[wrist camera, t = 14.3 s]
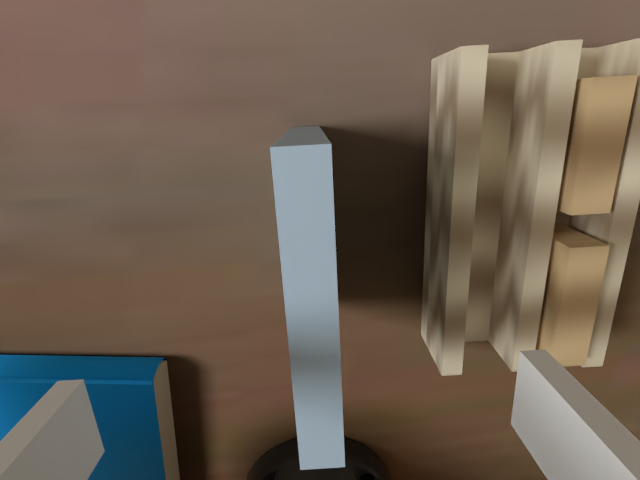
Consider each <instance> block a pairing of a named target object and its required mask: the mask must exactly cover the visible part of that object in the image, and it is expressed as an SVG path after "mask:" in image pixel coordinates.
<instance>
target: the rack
mask: <svg viewBox="0 0 640 480" xmlns="http://www.w3.org/2000/svg"><path fill="white" fill-rule="evenodd" d="M582 42H583V40H565V41H554V42H551V43H547V44H544V45H540V46H537V47H533V48H530V49H527V50H523V51H520V52H506V53H488V46H489V45H475V46H461V47H459V48H456V49H454V50H452V51H450V52H447V53H445V54H443V55H440V56H438V57H436V58H433V59H432V61H431V87H430V113H429V139H428V166H427V192H426V218H425V244H424V271H423V297H422V323H421V335H422V337H423V339H424V341H425V343H426V345H427V347H428V349H429V351H430V353H431V355H432V357H433V359H434V361H435V363H436V365H437V367H438V369H439V371H440V374H441V376H445V375H462V365H463V353H464V342H473V341H489V342H490V344H491V345H492V346H493V348H494V349H495V350H496V351H497V353H498V354H499V355H500V357H501V358H502V359H503V360H504V362H505V363H506V364H507V366H508V367H509V368H510V369H511V371H518V363H519V355H520V351H527V350H535V349H536V342H537V336H538V329H539V323H540V316H541V310H542V303H543V297H544V290H545V284H546V277H547V271H548V264H549V258H550V251H551V245H552V238H553V231H554V225H555V224H563V225H565V226H567V227H569V228H572V229H574V230H576V231H578V232H580V233H583V234H585V235H587V236H589V237H592V238H594V239H596V240H598V241H601V242H603V243H605V244H607V245H609V246H610V248H609V253H608V258H607V263H606V268H605V272H604V277H603V282H602V287H601V292H600V297H599V301H598V306H597V311H596V316H595V321H594V326H593V331H592V335H591V340H590V345H589V350H588V355H587V360H586V364H585V365H581V366H582V367H595V366H603V362H604V357H605V353H606V348H607V344H608V340H609V335H610V331H611V326H612V322H613V317H614V313H615V308H616V304H617V299H618V295H619V291H620V286H621V282H622V277H623V273H624V268H625V264H626V259H627V255H628V250H629V246H630V242H631V237H632V233H633V228H634V224H635V219H636V215H637V210H638V206H639V201H640V38H638V39H633V40H629V41H624V42H620V43H616V44H611V45H607V46H602V47H596V48H582ZM624 75H638V77H637V82H636V87H635V92H634V97H633V102H632V107H631V112H630V117H629V122H628V127H627V132H626V137H625V142H624V147H623V152H622V157H621V162H620V167H619V172H618V177H617V182H616V187H615V192H614V197H613V202H612V207H611V212H610V213H604V214H586V215H568V214H566V213H563V212H561V211H558V210H557V205H558V199H559V192H560V186H561V179H562V173H563V166H564V160H565V153H566V147H567V140H568V134H569V127H570V121H571V114H572V108H573V101H574V94H575V88H576V81H577V79H583V78H591V77H606V76H624Z"/></svg>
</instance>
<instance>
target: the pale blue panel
mask: <svg viewBox="0 0 640 480" xmlns="http://www.w3.org/2000/svg"><path fill="white" fill-rule="evenodd" d="M270 153H271V163H272V174H273V185H274V195H275V206H276V217H277V227H278V238H279V249H280V259H281V270H282V281H283V291H284V302H285V313H286V323H287V334H288V345H289V355H290V366H291V377H292V387H293V398H294V408H295V419H296V430H297V440H298V451H299V462H300V470H308V469H323V468H339V467H345V451H344V427H343V404H342V380H341V357H340V333H339V310H338V286H337V262H336V239H335V215H334V192H333V168H332V145H331V142H330V141H329V139H328V138H327V137H326V135H325V134H324V132H323V131H322V129H321V128H320V126H311V127H293V128H291V129H290V130H288V131H287V132H286V133H285V134H284V135H283V136H282V137H281V138H280V139H278V140H277V141H276V142H275V143H274V144H273V145H272V146H271V147H270Z"/></svg>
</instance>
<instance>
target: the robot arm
mask: <svg viewBox="0 0 640 480" xmlns="http://www.w3.org/2000/svg"><path fill="white" fill-rule="evenodd" d="M511 425H512V427H513V428H514V430H515V431H516V433H517V434H518V436H519V437H520V439H521V440H522V442H523V443H524V445H525V446H526V448H527V449H528V451H529V452H530V454H531V455H532V457H533V458H534V460H535V461H536V463H537V464H538V466H539V467H540V469H541V470H542V472H543V473H544V475H545V476H546V478H547V479H548V480H640V441H639V440H638V439H637V438H636V437H635V436H634V435H632V434H631V433H630V432H629V431H628V430H627V429H626V428H625V427H624V426H623V425H622V424H621V423H620V422H619V421H618V420H617V419H616V418H615V417H614V416H613V415H612V414H611V413H610V412H609V411H608V410H607V409H606V408H605V407H604V406H603V405H602V404H601V403H600V402H599V401H598V400H597V399H596V398H595V397H594V396H592V395H591V394H590V393H589V392H588V391H587V390H586V389H585V388H584V387H583V386H582V385H581V384H580V383H579V382H578V381H577V380H576V379H575V378H574V377H573V376H572V375H571V374H570V373H569V372H568V371H567V370H566V369H565V368H564V367H563V366H562V365H561V364H560V363H559V362H558V361H557V360H556V359H555V358H553V357H552V356H551V355H550V354H549V353H548V352H547V351H546V350H545V349H543V350H527V351H520V355H519V363H518V371H517V379H516V386H515V394H514V402H513V410H512V418H511ZM344 451H345V467H339V468H323V469H308V470H300V462H299V451H298V440H297V438H296V439H292V440H289V441H286V442H284V443H281V444H279V445H277V446H275V447H274V448H272V449H270V450H269V451H267V452H266V453H265V454H264V455H262V456H261V457H260V458H259V459H258V460H257V461H256V463H255V464H254V465H253V467H252V468H251V470H250V472H249V474H248V476H247V479H246V480H391V477H390V474H389V471H388V469H387V467H386V466H385V464H384V463H383V461H382V460H381V459H380V458H379V457H378V456H377V455H376V454H375V453H374V452H372V451H371V450H370V449H368V448H367V447H365V446H363V445H361V444H359V443H357V442H354V441H352V440H349V439H345V438H344ZM104 452H105V450H104V447H103V444H102V440H101V437H100V434H99V430H98V427H97V423H96V420H95V417H94V413H93V410H92V406H91V403H90V400H89V396H88V393H87V390H86V386H85V383H84V379H81V380H65V381H57V382H56V383H55V384H54V385H53V386H52V387H51V388H50V390H49V391H48V392H47V393H46V394H45V395H44V396H43V397H42V398H41V399H40V400H39V401H38V402H37V403H36V404H35V405H34V406H33V407H32V408H31V409H30V411H29V412H28V413H27V414H26V415H25V416H24V417H23V418H22V419H21V420H20V421H19V422H18V423H17V424H16V425H15V426H14V427H13V428H12V429H11V430H10V432H9V433H8V434H7V435H6V436H5V437H4V438H3V439H2V440H1V441H0V480H87V479H88V478H89V476H90V475H91V473H92V471H93V470H94V468H95V466H96V465H97V463H98V461H99V460H100V458H101V456H102V455H103V453H104Z"/></svg>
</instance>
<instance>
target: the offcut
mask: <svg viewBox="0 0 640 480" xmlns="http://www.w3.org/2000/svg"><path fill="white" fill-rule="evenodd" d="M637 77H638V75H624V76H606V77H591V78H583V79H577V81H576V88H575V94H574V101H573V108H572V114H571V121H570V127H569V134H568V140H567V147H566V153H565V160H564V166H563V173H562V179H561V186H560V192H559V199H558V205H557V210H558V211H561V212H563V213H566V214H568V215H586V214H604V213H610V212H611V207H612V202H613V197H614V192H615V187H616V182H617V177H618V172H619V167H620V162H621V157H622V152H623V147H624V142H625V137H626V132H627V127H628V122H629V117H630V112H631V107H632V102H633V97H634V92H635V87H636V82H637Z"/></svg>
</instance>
